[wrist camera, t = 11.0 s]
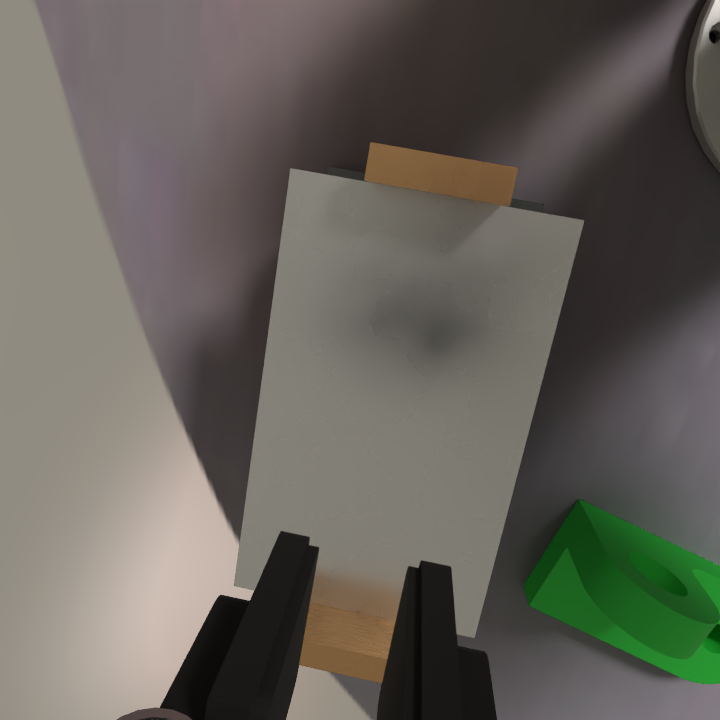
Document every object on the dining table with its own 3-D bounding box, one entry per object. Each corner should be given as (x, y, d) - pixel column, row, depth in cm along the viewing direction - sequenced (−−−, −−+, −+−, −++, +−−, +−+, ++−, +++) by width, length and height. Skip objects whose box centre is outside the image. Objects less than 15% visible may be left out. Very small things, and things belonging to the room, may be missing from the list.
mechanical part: (523, 583, 35) (550, 693, 27) (577, 497, 33) (624, 587, 25) (713, 673, 35) (795, 808, 27) (777, 592, 33) (883, 710, 25)
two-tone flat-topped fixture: (540, 193, 29) (632, 187, 16) (463, 511, 34) (487, 707, 21) (333, 156, 30) (261, 123, 17) (285, 474, 34) (199, 642, 21)
